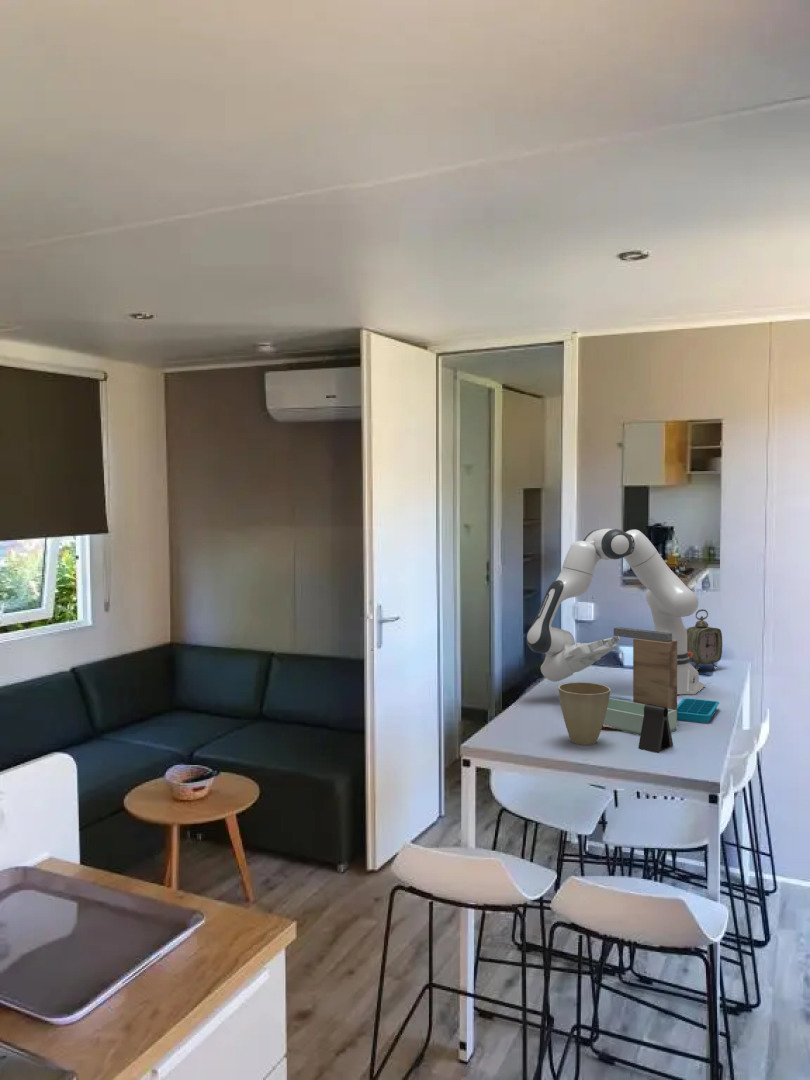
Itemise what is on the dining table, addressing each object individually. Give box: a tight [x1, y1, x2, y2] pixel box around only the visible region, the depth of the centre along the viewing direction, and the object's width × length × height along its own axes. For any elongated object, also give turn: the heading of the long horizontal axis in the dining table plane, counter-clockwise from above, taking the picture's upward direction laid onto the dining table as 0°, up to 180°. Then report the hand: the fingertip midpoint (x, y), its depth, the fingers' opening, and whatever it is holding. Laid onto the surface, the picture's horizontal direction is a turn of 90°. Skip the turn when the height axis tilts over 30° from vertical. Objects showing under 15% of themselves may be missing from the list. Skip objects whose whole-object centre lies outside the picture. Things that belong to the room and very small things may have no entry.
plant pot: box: [557, 681, 611, 746], centre depth 244 cm, size 15×15×16 cm
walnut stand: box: [632, 638, 678, 710], centre depth 265 cm, size 6×12×26 cm, turn 45°
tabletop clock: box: [686, 608, 723, 671], centre depth 339 cm, size 14×9×25 cm, turn 119°
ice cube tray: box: [677, 697, 720, 724], centre depth 273 cm, size 12×20×3 cm, turn 151°
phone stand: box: [637, 704, 674, 754], centre depth 238 cm, size 9×6×12 cm, turn 134°
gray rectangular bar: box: [613, 626, 672, 642], centre depth 267 cm, size 3×19×2 cm, turn 45°
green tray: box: [603, 697, 678, 736], centre depth 261 cm, size 13×28×6 cm, turn 45°
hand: (610, 639), depth 276 cm, fingers open, 8 cm apart
